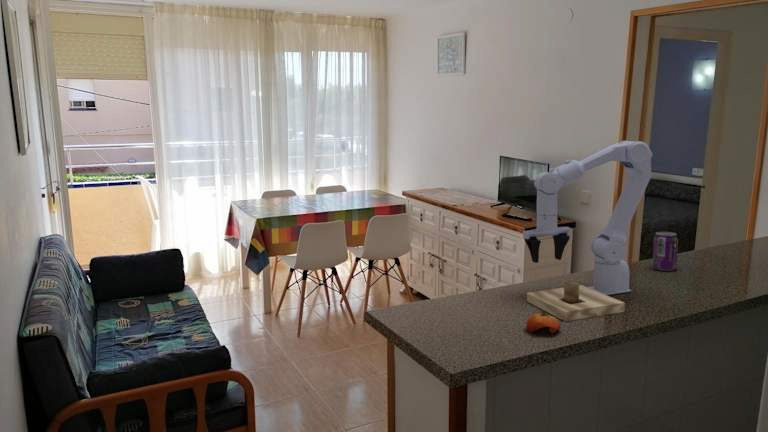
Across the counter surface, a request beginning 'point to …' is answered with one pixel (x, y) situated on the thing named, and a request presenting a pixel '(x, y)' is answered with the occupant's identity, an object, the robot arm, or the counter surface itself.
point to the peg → (571, 292)
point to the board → (586, 308)
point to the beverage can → (665, 251)
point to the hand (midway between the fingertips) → (546, 260)
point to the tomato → (542, 322)
